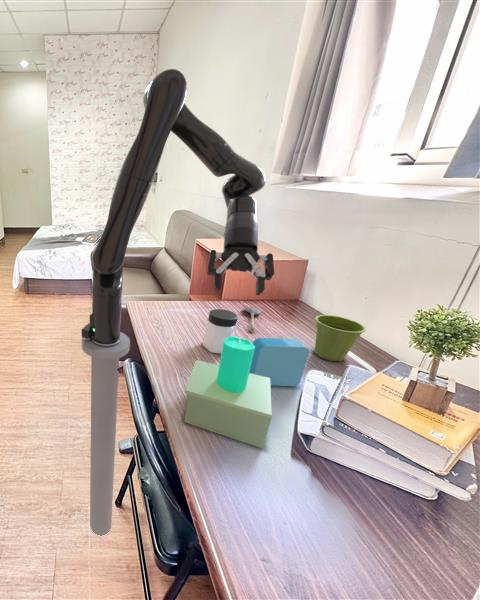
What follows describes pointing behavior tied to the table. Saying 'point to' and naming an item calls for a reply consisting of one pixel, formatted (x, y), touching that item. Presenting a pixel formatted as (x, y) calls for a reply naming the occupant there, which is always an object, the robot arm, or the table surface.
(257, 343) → the data package
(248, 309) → the soupspoon
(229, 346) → the candle
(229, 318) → the jar
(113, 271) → the robot arm
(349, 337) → the plant pot
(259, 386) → the chest lid
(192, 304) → the table surface
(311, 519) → the table surface
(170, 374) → the table surface
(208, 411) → the chest
